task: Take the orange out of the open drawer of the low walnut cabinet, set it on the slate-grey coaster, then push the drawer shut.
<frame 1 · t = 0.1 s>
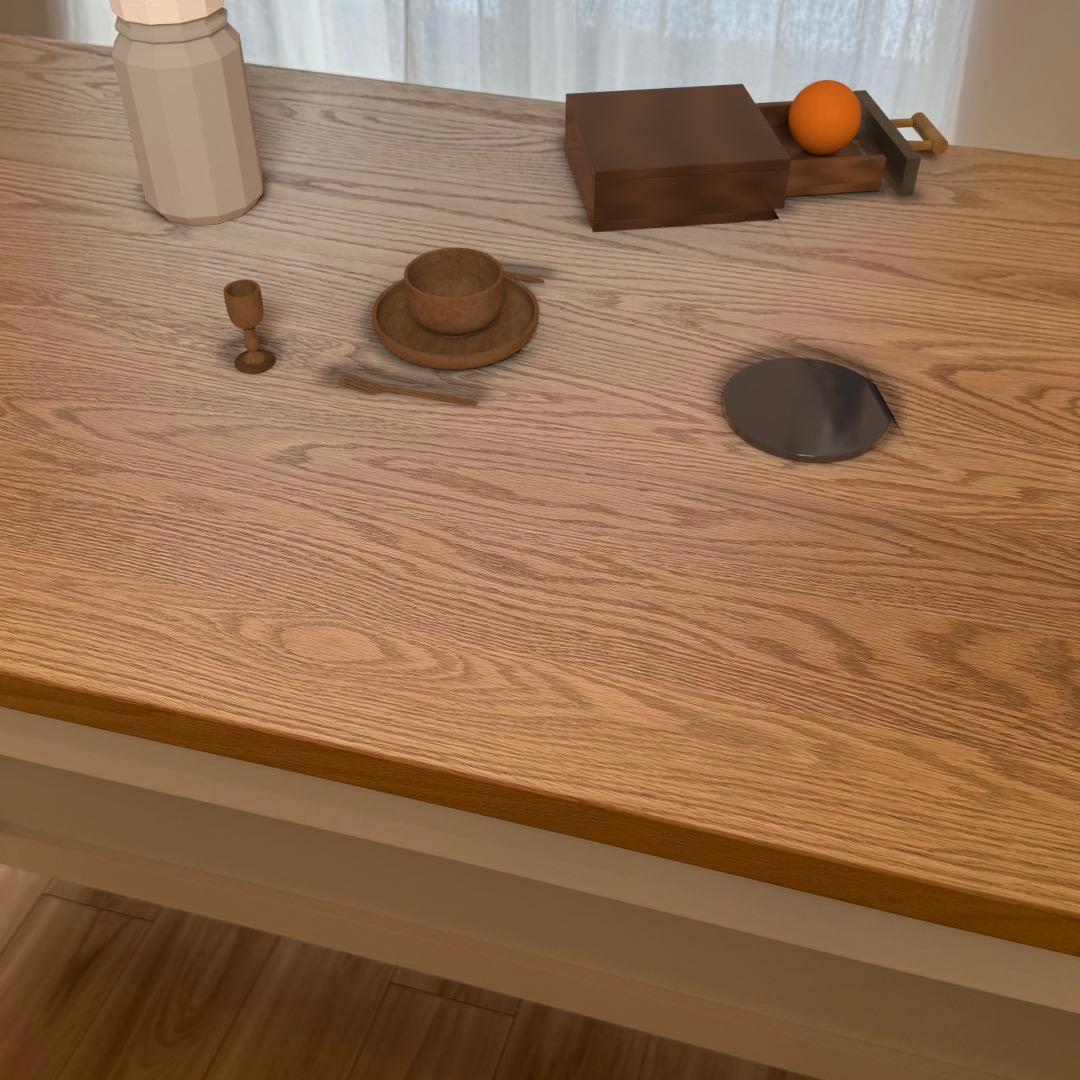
orange: (819, 151, 106), point 2 cm above the table, touching drawer
drawer: (830, 144, 106), point 3 cm above the table, slide at 10.0 cm, touching orange
place setting: (402, 327, 90), on the table
cabinet: (668, 183, 107), on the table
coaster: (805, 411, 83), on the table
jar: (207, 204, 104), on the table
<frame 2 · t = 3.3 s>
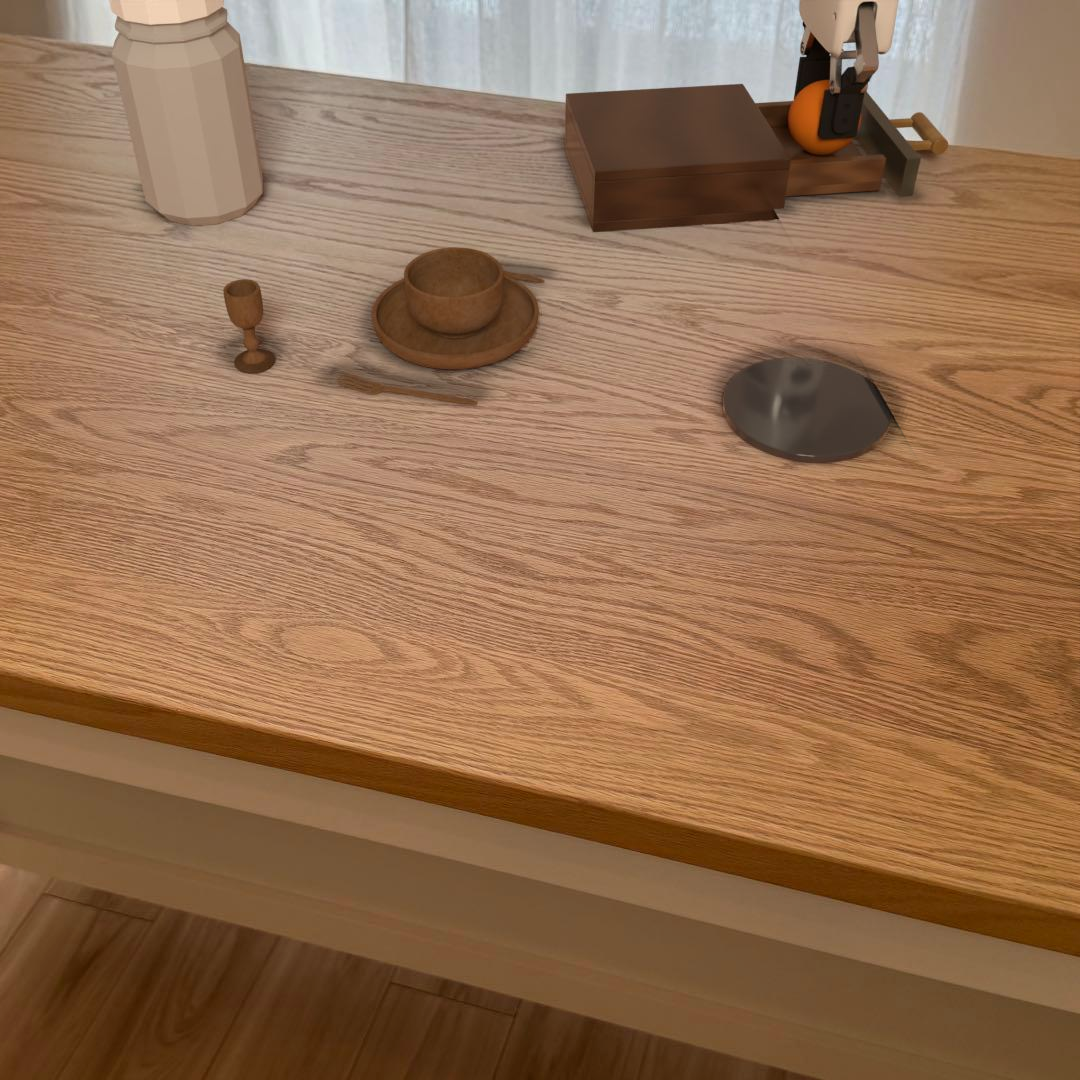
hand: (824, 117, 104), 5 cm above the table, tool pointing down, fingers closed on orange, 6 cm apart
orange: (818, 151, 106), point 2 cm above the table, touching drawer, gripper
everything else where it was.
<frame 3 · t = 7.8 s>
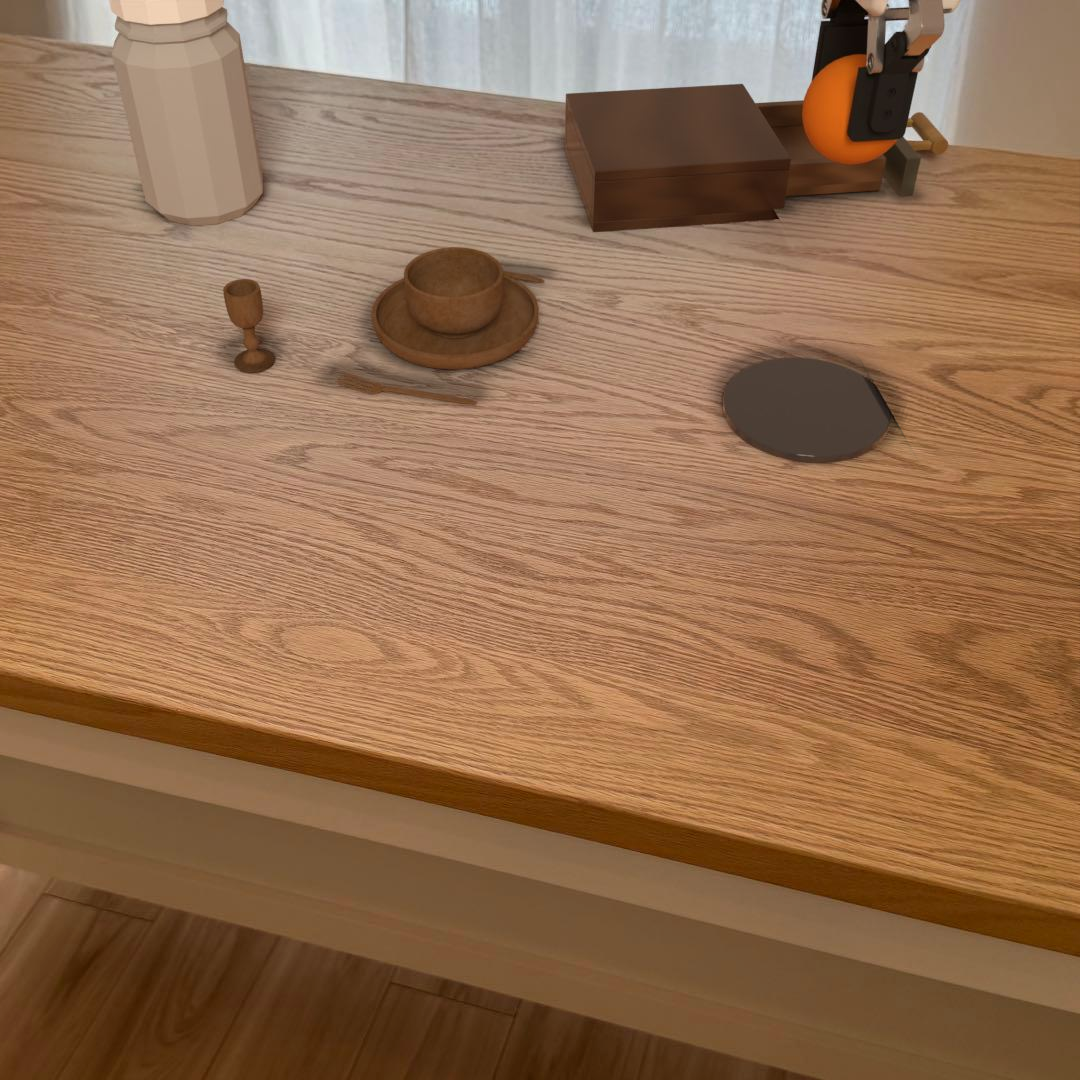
hand: (856, 110, 72), 19 cm above the table, tool pointing down, fingers closed on orange, 6 cm apart
orange: (846, 158, 74), point 16 cm above the table, touching gripper
drawer: (830, 144, 106), point 3 cm above the table, slide at 10.0 cm
everything else where it was.
when the fingers open (4 cm above the table, at t = 12.1 s): orange stays where it is, resting on coaster.
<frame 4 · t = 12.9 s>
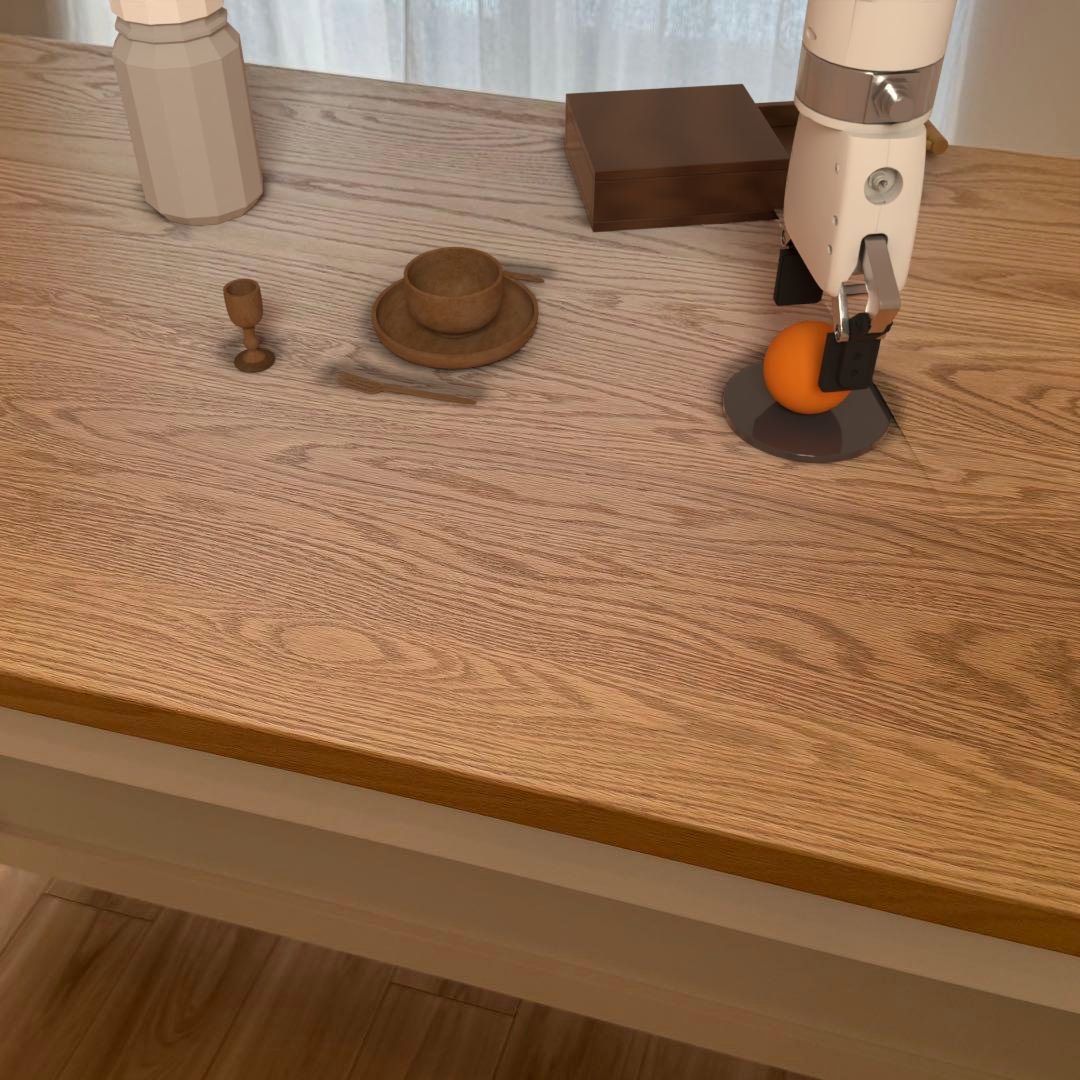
hand: (819, 343, 79), 5 cm above the table, tool pointing down, fingers open, 9 cm apart
orange: (804, 404, 82), point 1 cm above the table, touching coaster
everything else where it was.
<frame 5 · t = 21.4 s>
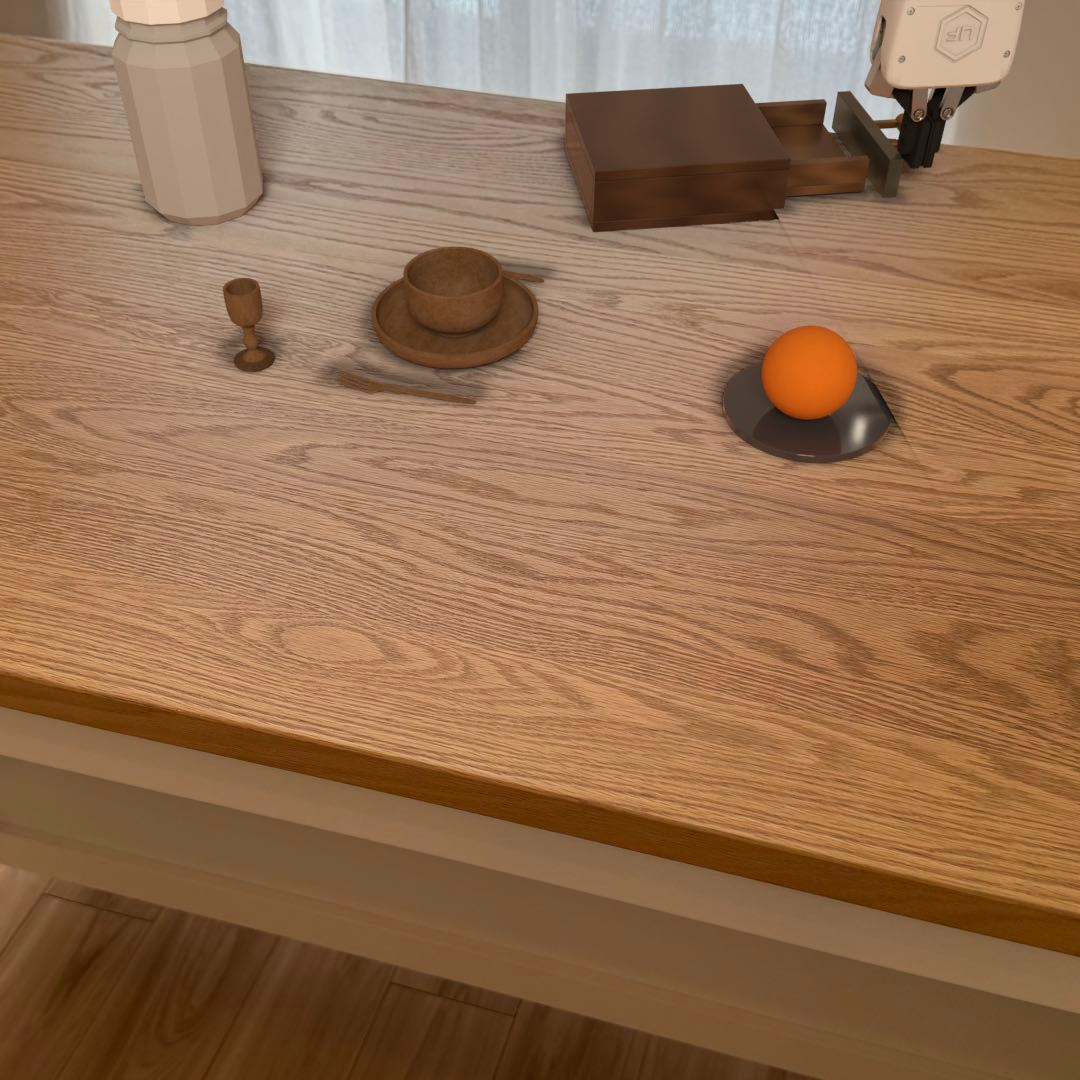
hand: (915, 160, 102), 4 cm above the table, tool pointing down, fingers closed
orange: (805, 403, 82), point 1 cm above the table, tilted 14°, touching coaster
drawer: (814, 145, 106), point 3 cm above the table, slide at 8.6 cm, touching gripper
everything else where it was.
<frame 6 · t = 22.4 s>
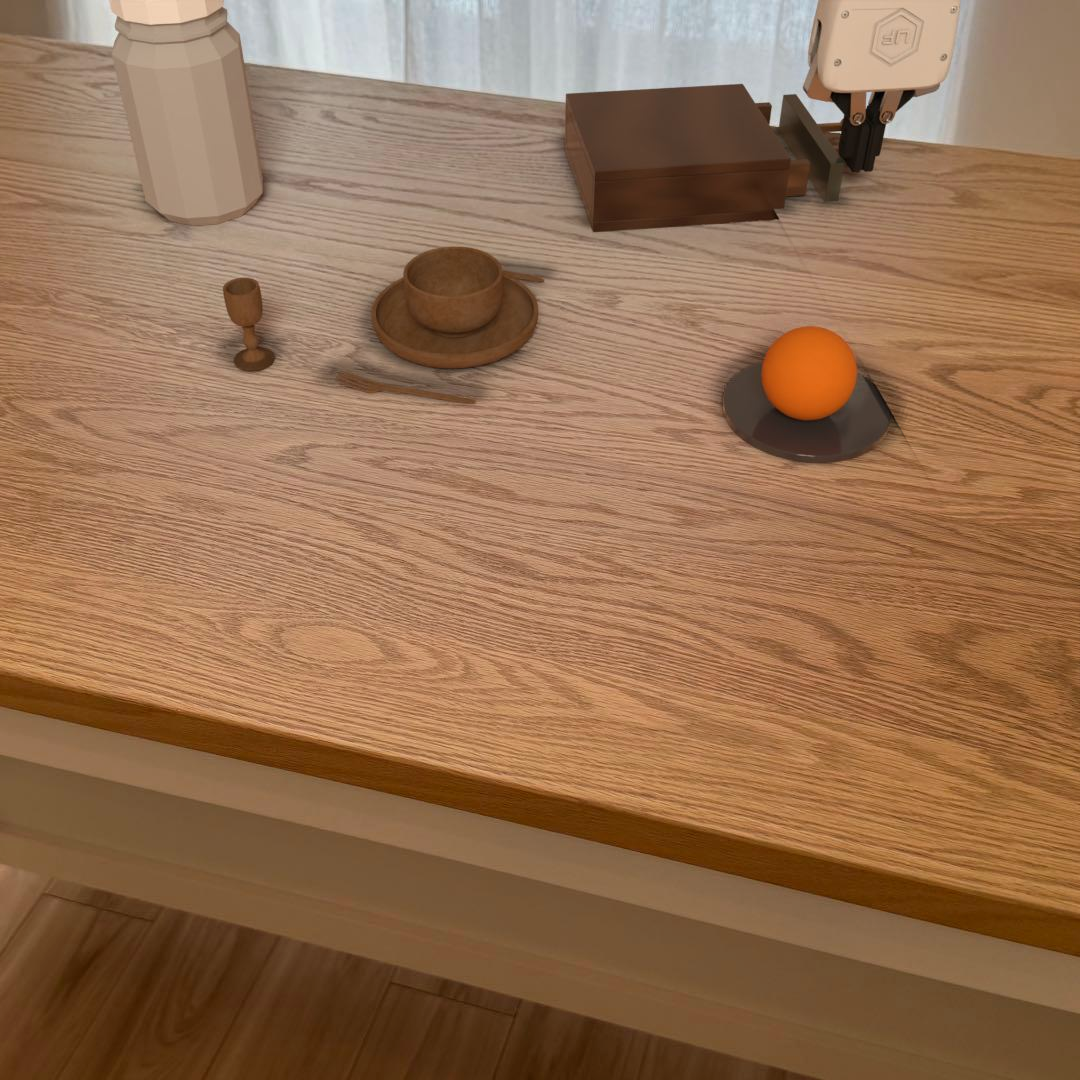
hand: (856, 164, 101), 4 cm above the table, tool pointing down, fingers closed
drawer: (757, 149, 106), point 3 cm above the table, slide at 3.6 cm, touching gripper
everything else where it was.
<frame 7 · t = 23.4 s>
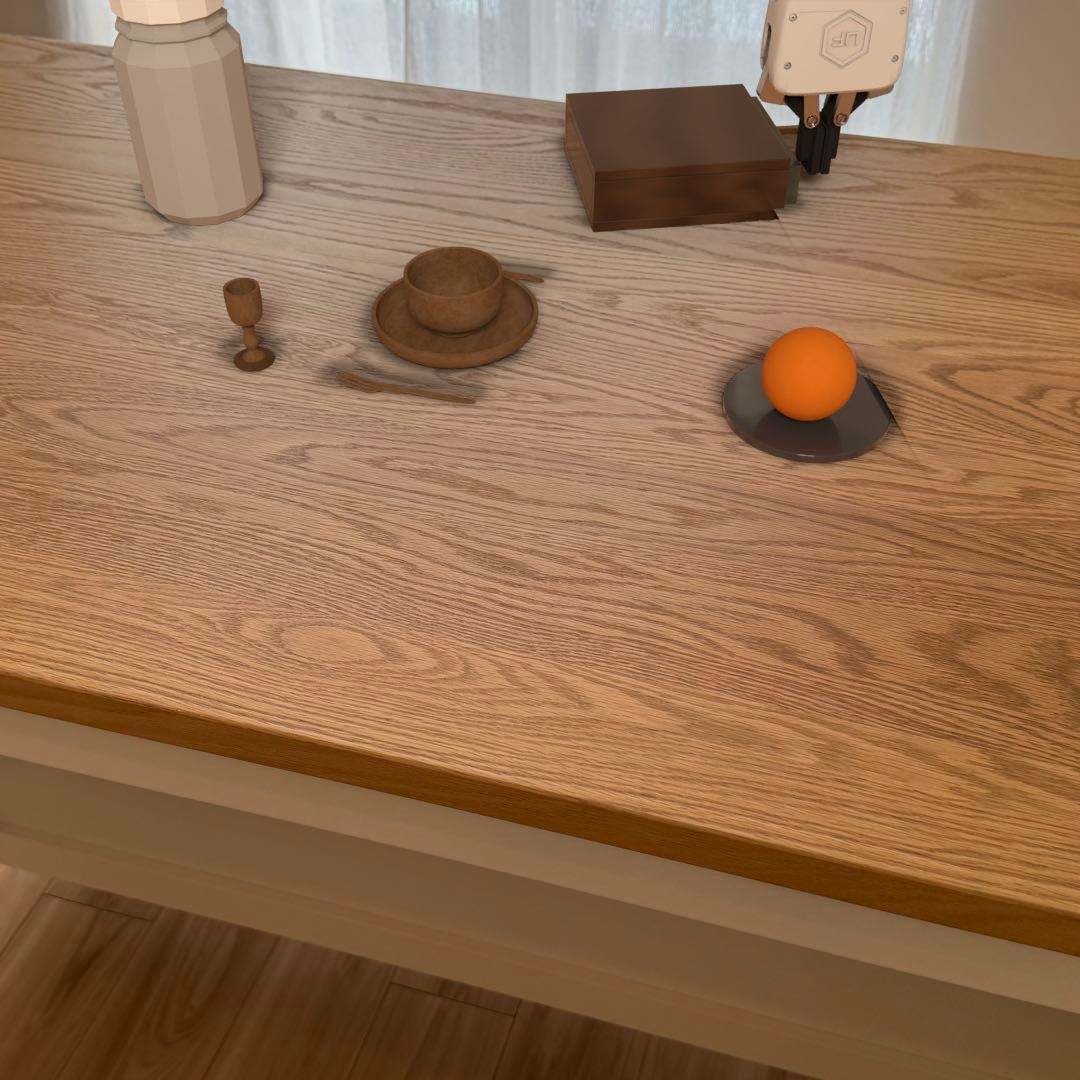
hand: (813, 167, 101), 4 cm above the table, tool pointing down, fingers closed
drawer: (716, 151, 105), point 3 cm above the table, slide at 0.0 cm, touching cabinet, gripper
everything else where it was.
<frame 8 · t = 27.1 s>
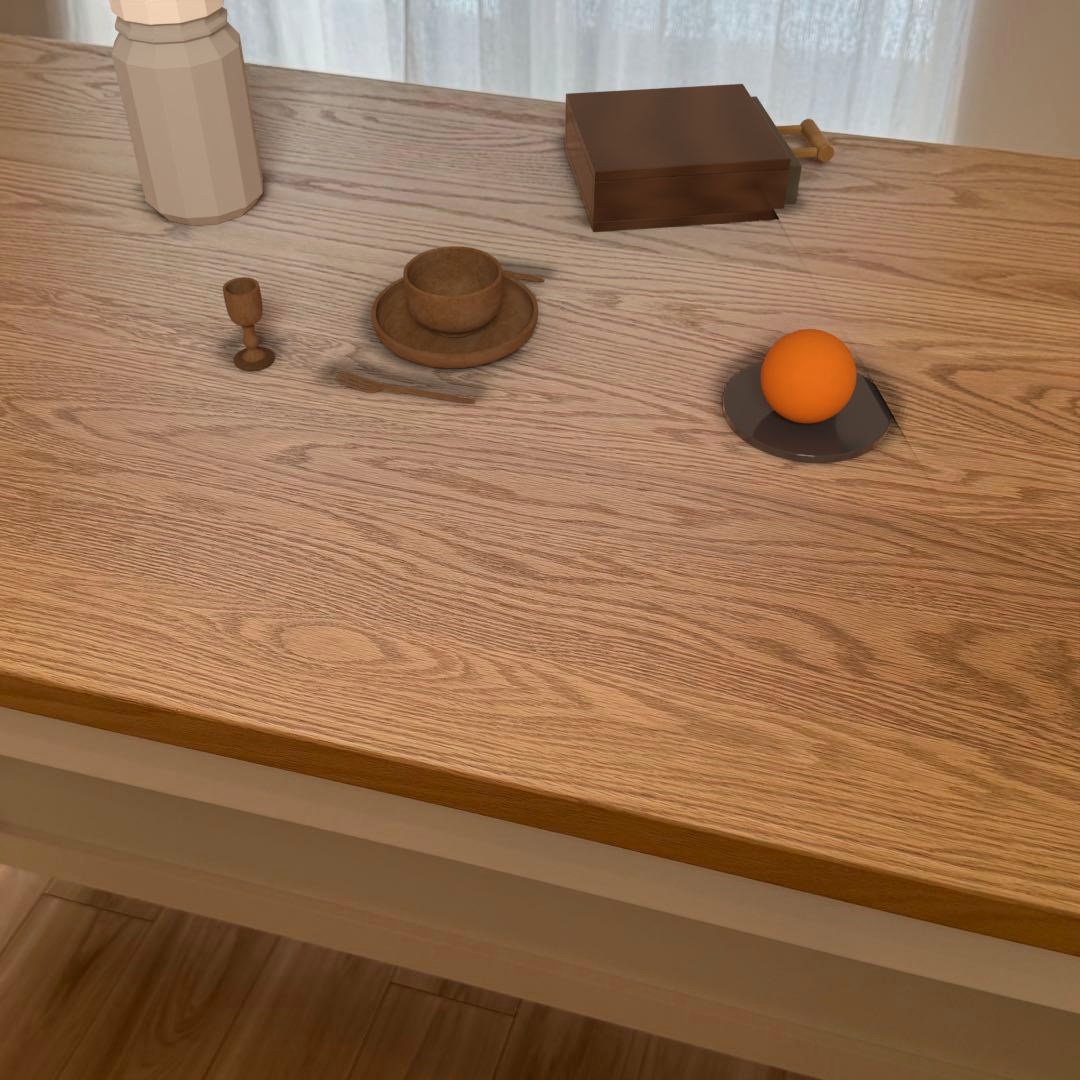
orange: (805, 402, 82), point 1 cm above the table, tilted 22°, touching coaster
drawer: (716, 151, 105), point 3 cm above the table, slide at 0.0 cm
everything else where it was.
at the end: orange 0.1 cm off-centre on the coaster, point 0.8 cm above the coaster's base; drawer slide at 0.0 cm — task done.
